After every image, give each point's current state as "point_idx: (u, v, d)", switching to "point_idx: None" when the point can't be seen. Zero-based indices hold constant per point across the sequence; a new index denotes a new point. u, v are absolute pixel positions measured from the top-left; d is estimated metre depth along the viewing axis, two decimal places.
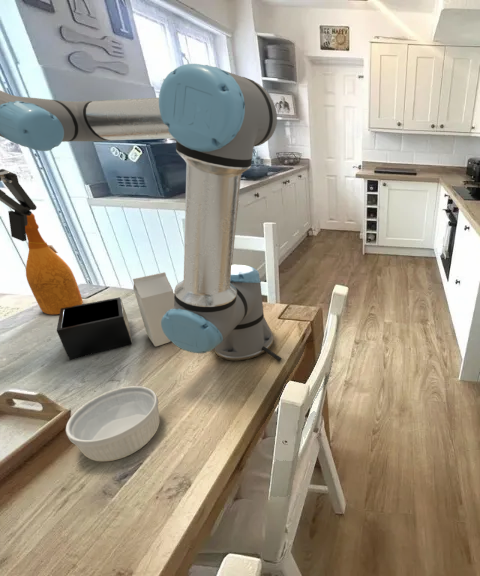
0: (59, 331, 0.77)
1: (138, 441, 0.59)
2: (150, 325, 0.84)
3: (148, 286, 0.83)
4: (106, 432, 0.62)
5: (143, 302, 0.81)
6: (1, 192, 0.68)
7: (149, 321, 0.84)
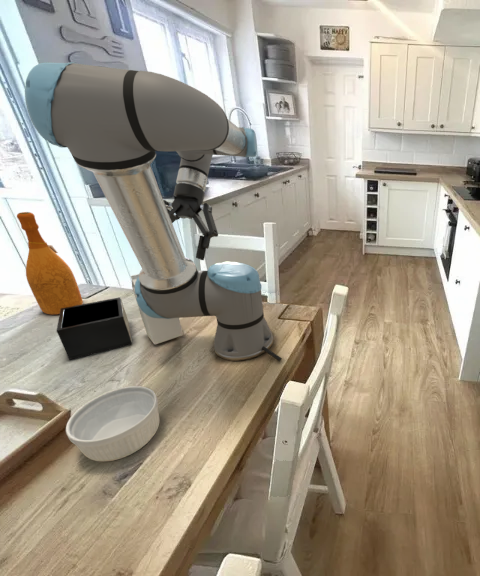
0: (59, 331, 0.77)
1: (138, 441, 0.59)
2: (149, 322, 0.84)
3: None
4: (106, 432, 0.62)
5: None
6: (192, 212, 0.92)
7: (147, 317, 0.84)
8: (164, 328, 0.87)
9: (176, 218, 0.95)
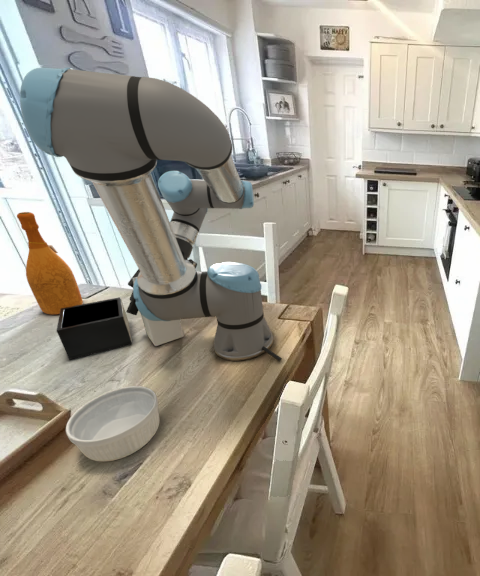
0: (59, 331, 0.77)
1: (138, 441, 0.59)
2: (150, 324, 0.84)
3: None
4: (106, 432, 0.62)
5: None
6: None
7: (148, 320, 0.84)
8: (164, 330, 0.87)
9: None
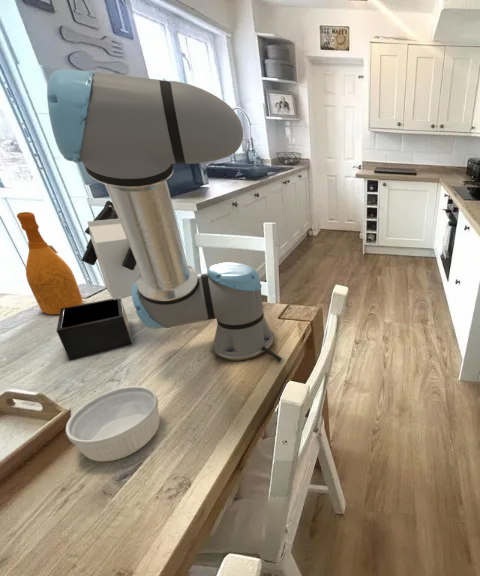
0: (59, 331, 0.77)
1: (138, 441, 0.59)
2: (107, 275, 0.77)
3: (105, 231, 0.75)
4: (106, 432, 0.62)
5: (98, 247, 0.74)
6: None
7: (105, 269, 0.76)
8: (124, 282, 0.80)
9: None
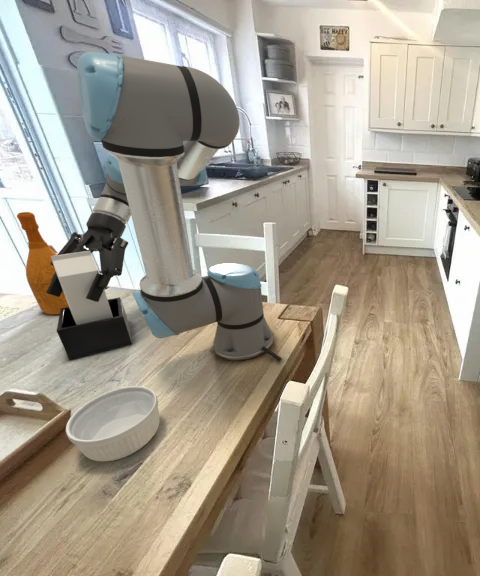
0: (59, 331, 0.77)
1: (138, 441, 0.59)
2: (72, 307, 0.78)
3: (69, 264, 0.77)
4: (106, 432, 0.62)
5: (62, 281, 0.75)
6: (100, 246, 0.82)
7: (70, 302, 0.78)
8: (90, 313, 0.82)
9: None
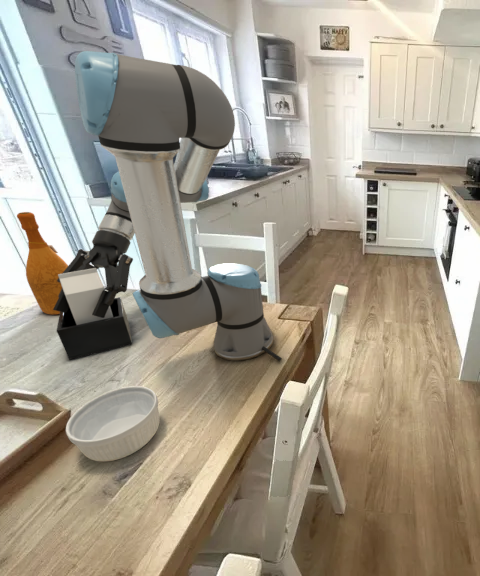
0: (59, 331, 0.77)
1: (138, 441, 0.59)
2: (78, 323, 0.80)
3: (75, 282, 0.79)
4: (106, 432, 0.62)
5: (69, 299, 0.77)
6: (105, 263, 0.84)
7: (76, 318, 0.80)
8: None
9: None
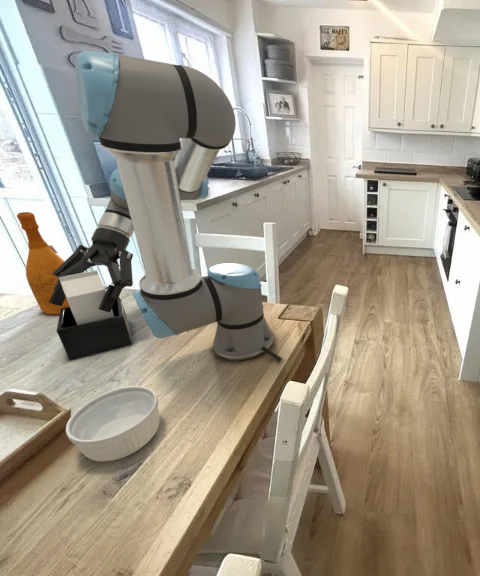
0: (59, 331, 0.77)
1: (138, 441, 0.59)
2: None
3: (76, 285, 0.79)
4: (106, 432, 0.62)
5: (70, 301, 0.78)
6: (106, 259, 0.83)
7: (78, 321, 0.80)
8: None
9: (91, 264, 0.86)
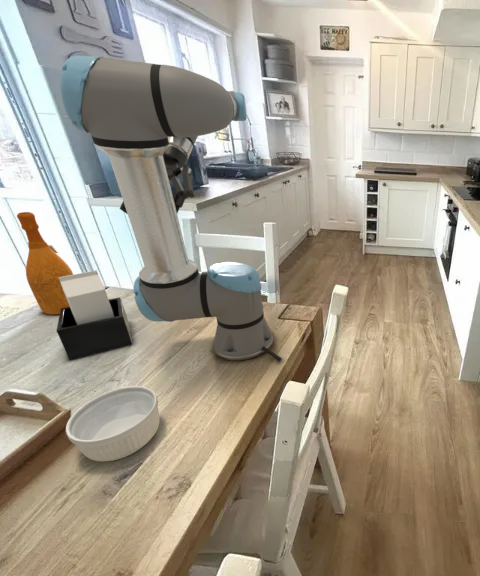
0: (59, 331, 0.77)
1: (138, 441, 0.59)
2: None
3: (76, 285, 0.79)
4: (106, 432, 0.62)
5: (70, 301, 0.78)
6: (170, 172, 0.91)
7: (78, 321, 0.80)
8: None
9: None
